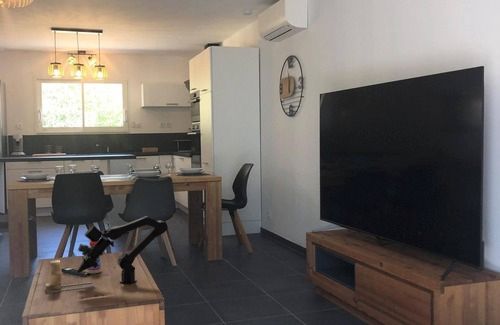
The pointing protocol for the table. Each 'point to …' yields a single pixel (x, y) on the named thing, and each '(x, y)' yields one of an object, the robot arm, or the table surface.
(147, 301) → the table surface
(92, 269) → the stacking toy
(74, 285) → the track
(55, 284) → the stepped wooden block
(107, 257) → the table surface
